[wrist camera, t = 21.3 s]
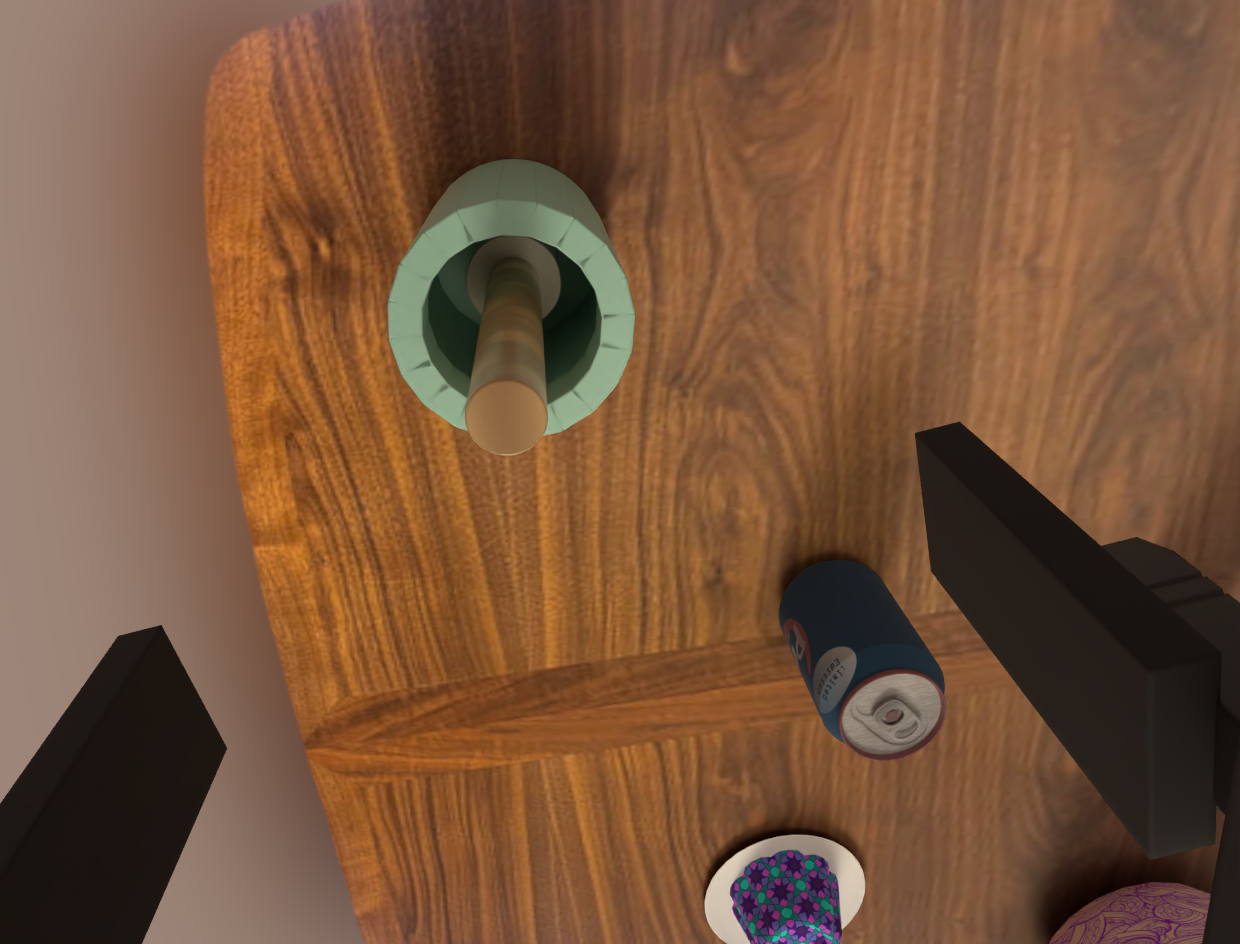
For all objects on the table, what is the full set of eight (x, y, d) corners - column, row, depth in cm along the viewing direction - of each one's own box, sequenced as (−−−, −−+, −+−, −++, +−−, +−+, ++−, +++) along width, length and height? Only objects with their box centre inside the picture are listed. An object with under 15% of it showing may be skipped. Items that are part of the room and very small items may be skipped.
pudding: (894, 875, 71) (921, 934, 66) (782, 968, 74) (799, 1031, 69) (783, 800, 67) (803, 857, 62) (669, 902, 70) (679, 964, 65)
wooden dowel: (545, 204, 49) (559, 328, 27) (567, 287, 50) (598, 466, 29) (461, 226, 49) (409, 367, 27) (486, 308, 50) (456, 503, 29)
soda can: (751, 599, 60) (802, 721, 49) (836, 529, 59) (908, 638, 48) (818, 662, 63) (880, 791, 52) (901, 596, 61) (983, 715, 50)
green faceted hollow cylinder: (580, 138, 48) (601, 171, 35) (623, 314, 52) (657, 406, 38) (401, 185, 48) (351, 237, 35) (457, 357, 52) (433, 465, 39)
